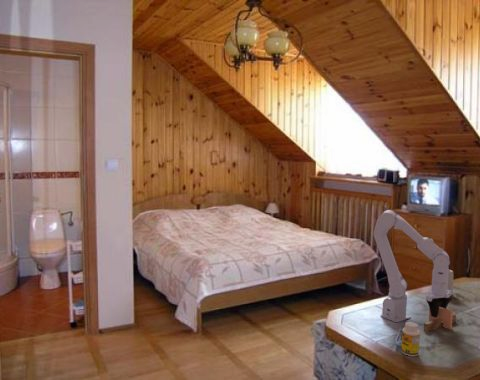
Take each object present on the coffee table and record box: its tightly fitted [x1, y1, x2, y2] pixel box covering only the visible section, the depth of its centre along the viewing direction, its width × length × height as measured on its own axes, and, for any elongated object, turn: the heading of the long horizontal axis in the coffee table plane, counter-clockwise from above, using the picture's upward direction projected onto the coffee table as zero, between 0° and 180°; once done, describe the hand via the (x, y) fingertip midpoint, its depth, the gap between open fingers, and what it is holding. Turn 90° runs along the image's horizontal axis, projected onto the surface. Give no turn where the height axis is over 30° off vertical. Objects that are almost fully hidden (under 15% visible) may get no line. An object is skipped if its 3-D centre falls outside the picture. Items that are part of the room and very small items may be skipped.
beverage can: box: [447, 269, 454, 296], centre depth 210 cm, size 6×6×12 cm
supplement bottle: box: [400, 321, 421, 357], centre depth 148 cm, size 6×6×10 cm
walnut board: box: [423, 313, 457, 333], centre depth 172 cm, size 20×1×3 cm, turn 124°
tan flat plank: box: [428, 307, 454, 330], centre depth 173 cm, size 9×1×7 cm, turn 34°
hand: (437, 315), depth 174 cm, fingers open, 4 cm apart
